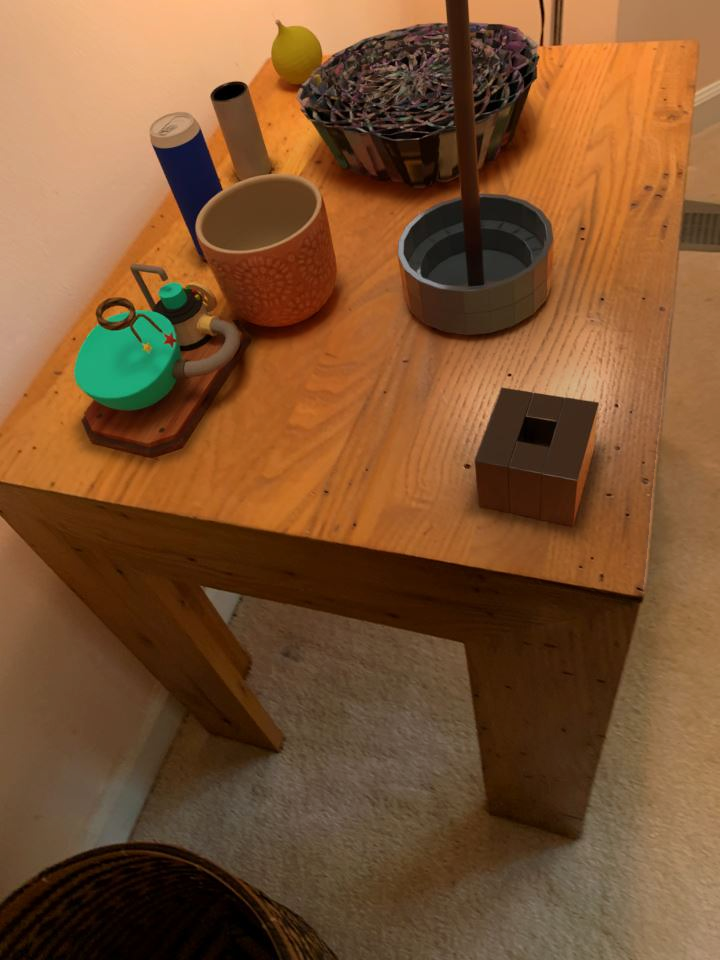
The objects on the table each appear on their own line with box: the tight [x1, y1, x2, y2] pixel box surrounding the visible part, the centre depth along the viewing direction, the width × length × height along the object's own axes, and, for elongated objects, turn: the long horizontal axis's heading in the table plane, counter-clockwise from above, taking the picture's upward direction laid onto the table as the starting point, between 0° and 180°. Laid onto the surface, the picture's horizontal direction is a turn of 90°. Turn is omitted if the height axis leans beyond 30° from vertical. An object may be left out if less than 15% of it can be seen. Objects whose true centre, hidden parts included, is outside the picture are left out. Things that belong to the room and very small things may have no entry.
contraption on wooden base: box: [73, 263, 252, 458], centre depth 68 cm, size 14×18×15 cm
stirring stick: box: [444, 0, 484, 287], centre depth 63 cm, size 2×2×26 cm
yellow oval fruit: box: [270, 14, 323, 86], centre depth 102 cm, size 7×7×10 cm
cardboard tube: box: [209, 80, 272, 181], centre depth 90 cm, size 4×4×10 cm
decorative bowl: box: [296, 21, 541, 189], centre depth 88 cm, size 26×28×10 cm
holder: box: [474, 387, 600, 527], centre depth 57 cm, size 7×7×6 cm
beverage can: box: [149, 111, 224, 260], centre depth 80 cm, size 5×5×15 cm
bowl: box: [397, 192, 554, 336], centre depth 71 cm, size 14×14×6 cm
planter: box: [195, 173, 338, 328], centre depth 74 cm, size 12×12×11 cm
